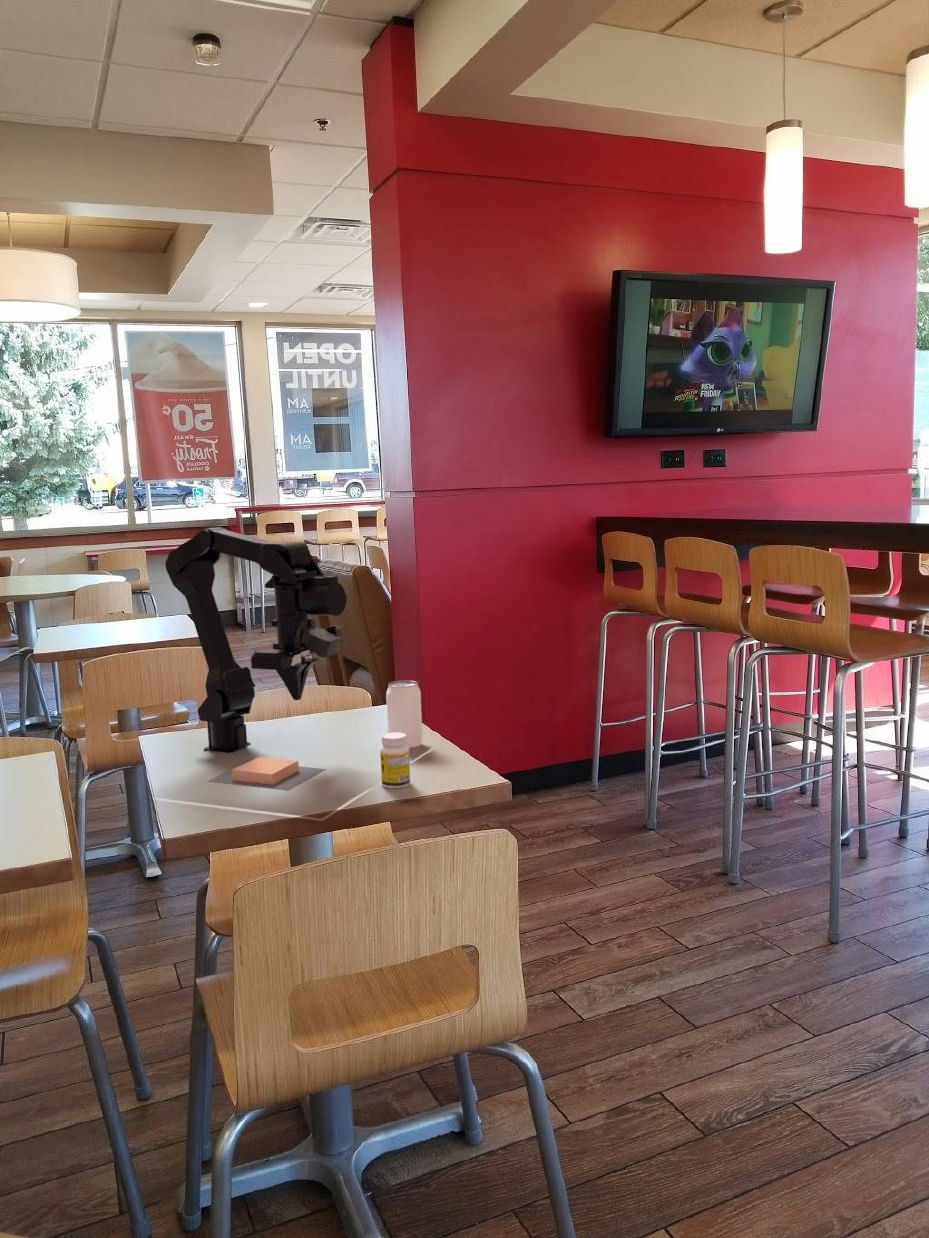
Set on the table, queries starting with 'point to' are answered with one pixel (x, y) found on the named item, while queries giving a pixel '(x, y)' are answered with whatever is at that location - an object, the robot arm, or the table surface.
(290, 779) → the mat
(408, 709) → the can
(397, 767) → the supplement bottle
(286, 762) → the tile
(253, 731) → the table surface
